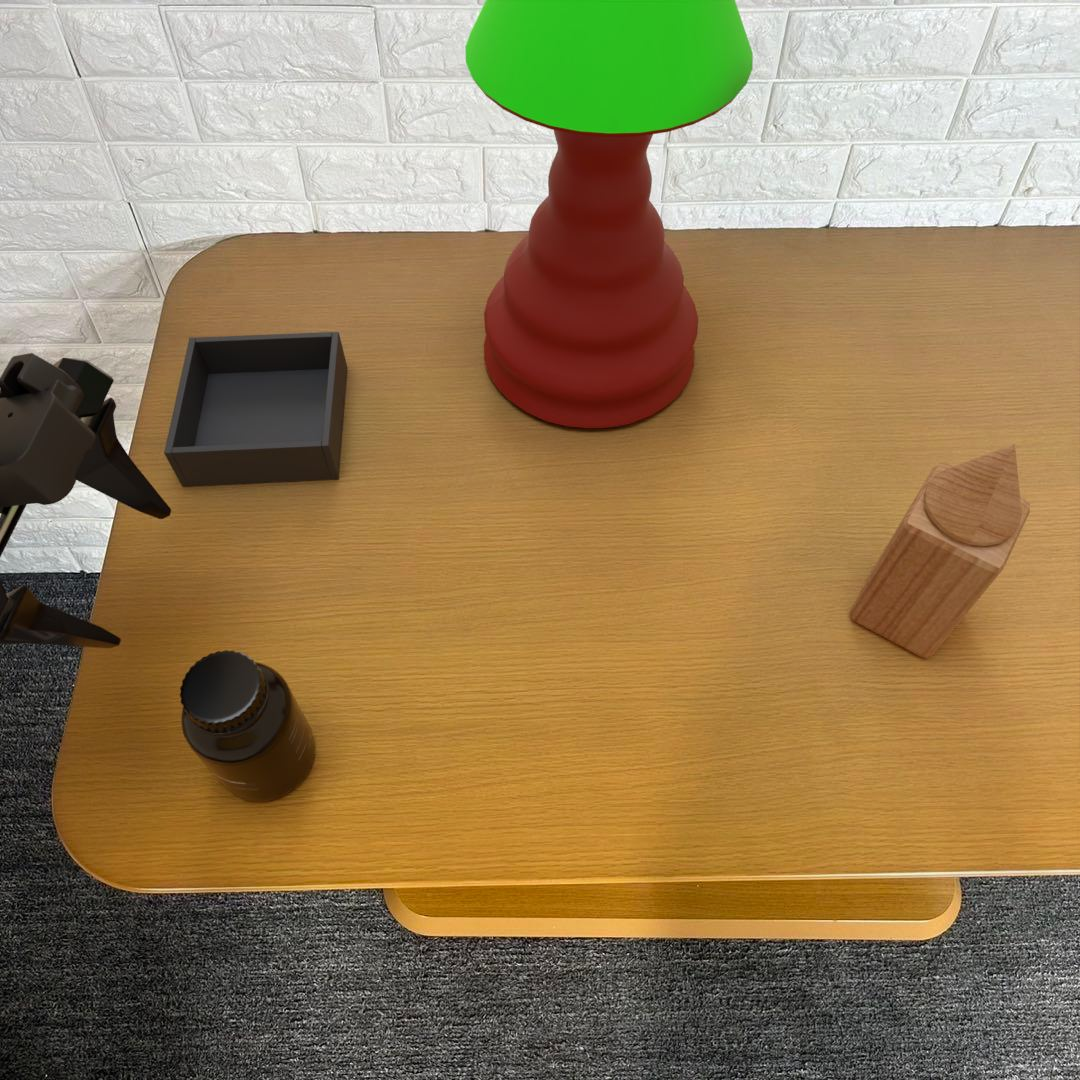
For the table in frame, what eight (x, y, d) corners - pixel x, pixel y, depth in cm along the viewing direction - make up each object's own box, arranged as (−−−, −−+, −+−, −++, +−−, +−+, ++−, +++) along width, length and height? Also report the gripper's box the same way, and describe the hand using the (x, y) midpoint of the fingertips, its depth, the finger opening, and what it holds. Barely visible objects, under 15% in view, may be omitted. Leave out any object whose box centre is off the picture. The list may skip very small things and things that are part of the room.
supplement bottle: (219, 814, 61) (157, 750, 51) (218, 721, 64) (159, 644, 54) (321, 794, 62) (279, 727, 52) (314, 702, 65) (274, 624, 55)
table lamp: (491, 280, 91) (458, -325, 53) (687, 285, 90) (794, -320, 53) (476, 429, 80) (423, -199, 42) (699, 436, 79) (846, -192, 42)
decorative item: (878, 560, 72) (980, 386, 56) (958, 600, 70) (1089, 433, 54) (844, 619, 69) (942, 455, 52) (927, 664, 67) (1056, 508, 50)
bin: (182, 486, 76) (163, 453, 72) (204, 373, 83) (189, 337, 80) (338, 479, 77) (328, 445, 73) (347, 367, 84) (338, 331, 80)
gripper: (-166, 544, 35) (172, 695, 45) (26, 238, 46) (267, 416, 56) (-260, 608, 41) (58, 729, 51) (-71, 325, 52) (163, 471, 62)
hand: (143, 576), depth 55 cm, fingers open, 9 cm apart
